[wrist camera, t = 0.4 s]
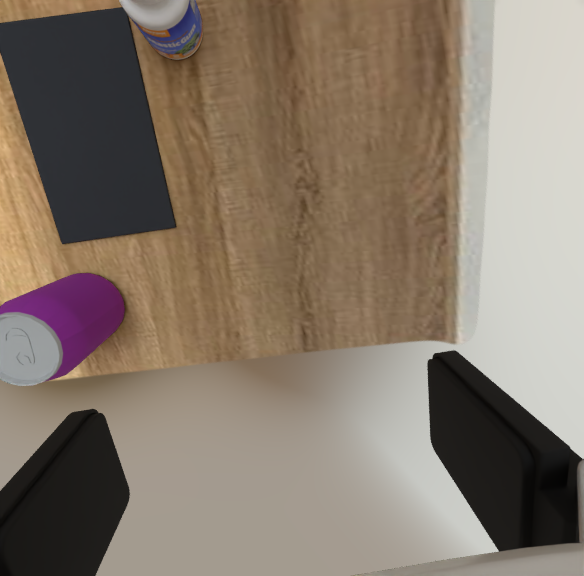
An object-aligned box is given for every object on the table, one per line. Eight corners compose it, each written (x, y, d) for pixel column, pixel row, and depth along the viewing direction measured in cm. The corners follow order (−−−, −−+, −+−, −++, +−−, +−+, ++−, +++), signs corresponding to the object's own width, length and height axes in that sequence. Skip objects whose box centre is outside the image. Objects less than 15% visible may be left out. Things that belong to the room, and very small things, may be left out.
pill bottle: (160, 69, 33) (117, 21, 24) (135, 5, 32) (79, -73, 22) (213, 49, 33) (192, -7, 24) (190, -15, 32) (158, -102, 22)
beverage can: (136, 328, 40) (83, 384, 28) (70, 341, 40) (-10, 402, 28) (115, 264, 38) (48, 296, 26) (45, 277, 38) (-53, 315, 26)
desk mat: (-6, 25, 32) (-9, 24, 31) (126, 8, 32) (124, 6, 31) (64, 243, 37) (61, 244, 37) (176, 227, 37) (175, 227, 37)
